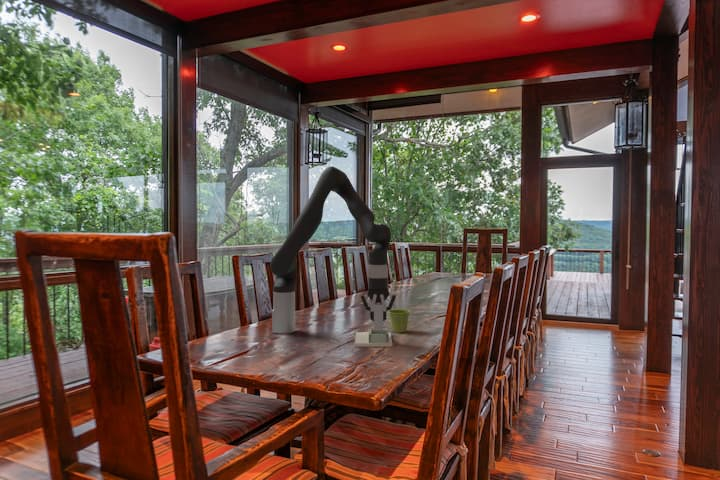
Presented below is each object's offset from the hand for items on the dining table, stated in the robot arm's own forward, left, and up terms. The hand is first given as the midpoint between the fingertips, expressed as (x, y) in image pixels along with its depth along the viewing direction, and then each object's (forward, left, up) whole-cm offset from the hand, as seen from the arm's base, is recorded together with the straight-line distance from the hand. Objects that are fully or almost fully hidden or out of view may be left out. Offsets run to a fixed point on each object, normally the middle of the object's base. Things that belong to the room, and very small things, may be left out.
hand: (378, 320), depth 176 cm
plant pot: (+9, +19, -9) cm, 23 cm away
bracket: (0, 0, -3) cm, 3 cm away
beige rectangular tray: (-2, +3, -8) cm, 9 cm away
